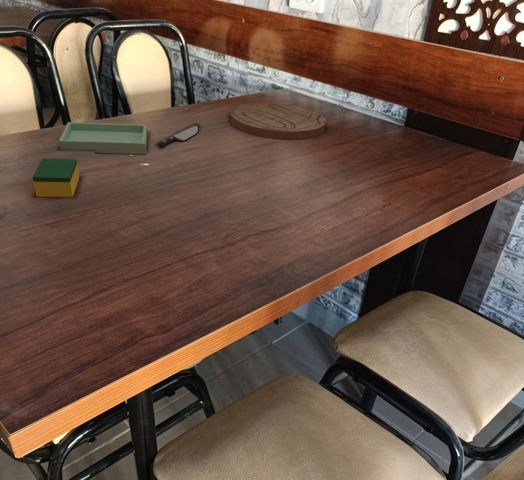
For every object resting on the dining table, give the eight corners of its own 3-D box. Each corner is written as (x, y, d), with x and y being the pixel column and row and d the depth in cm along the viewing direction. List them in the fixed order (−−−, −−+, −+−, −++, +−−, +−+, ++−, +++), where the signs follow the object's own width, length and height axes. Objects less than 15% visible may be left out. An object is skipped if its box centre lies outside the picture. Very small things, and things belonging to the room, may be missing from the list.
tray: (60, 152, 106) (58, 140, 104) (69, 132, 115) (67, 122, 114) (145, 154, 108) (144, 143, 107) (147, 135, 118) (146, 124, 117)
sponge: (37, 199, 87) (32, 177, 85) (46, 179, 94) (42, 158, 92) (73, 200, 88) (69, 177, 86) (79, 180, 95) (76, 159, 93)
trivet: (275, 106, 146) (276, 98, 145) (344, 129, 134) (345, 121, 133) (210, 118, 132) (210, 111, 131) (280, 146, 119) (281, 137, 118)
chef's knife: (207, 129, 125) (196, 126, 126) (207, 124, 124) (196, 121, 125) (168, 150, 111) (156, 147, 112) (168, 145, 110) (156, 142, 111)
